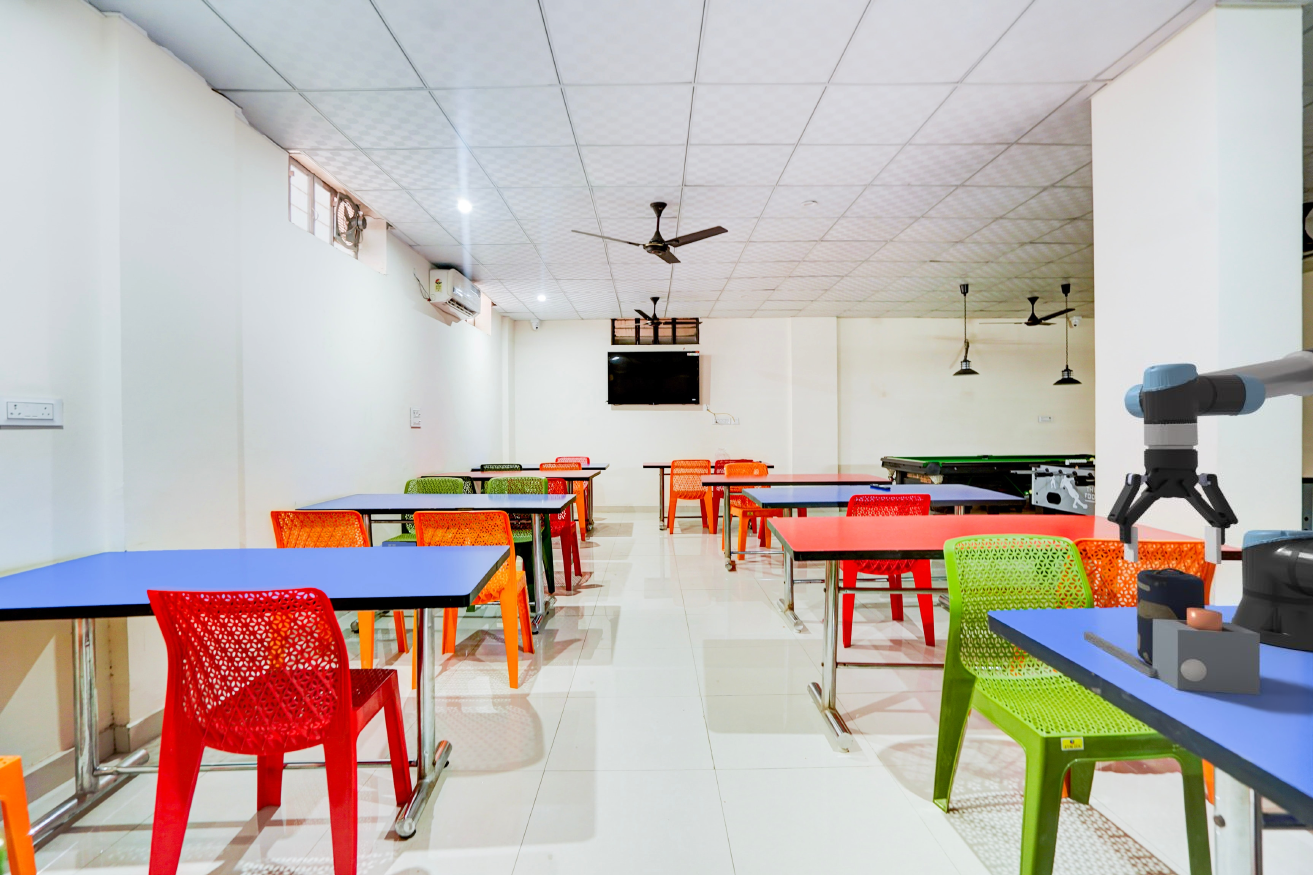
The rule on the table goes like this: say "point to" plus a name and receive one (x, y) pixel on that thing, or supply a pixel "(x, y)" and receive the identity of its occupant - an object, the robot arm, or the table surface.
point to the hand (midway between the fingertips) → (1171, 562)
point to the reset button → (1204, 619)
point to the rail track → (1121, 654)
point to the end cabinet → (1207, 657)
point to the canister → (1164, 602)
